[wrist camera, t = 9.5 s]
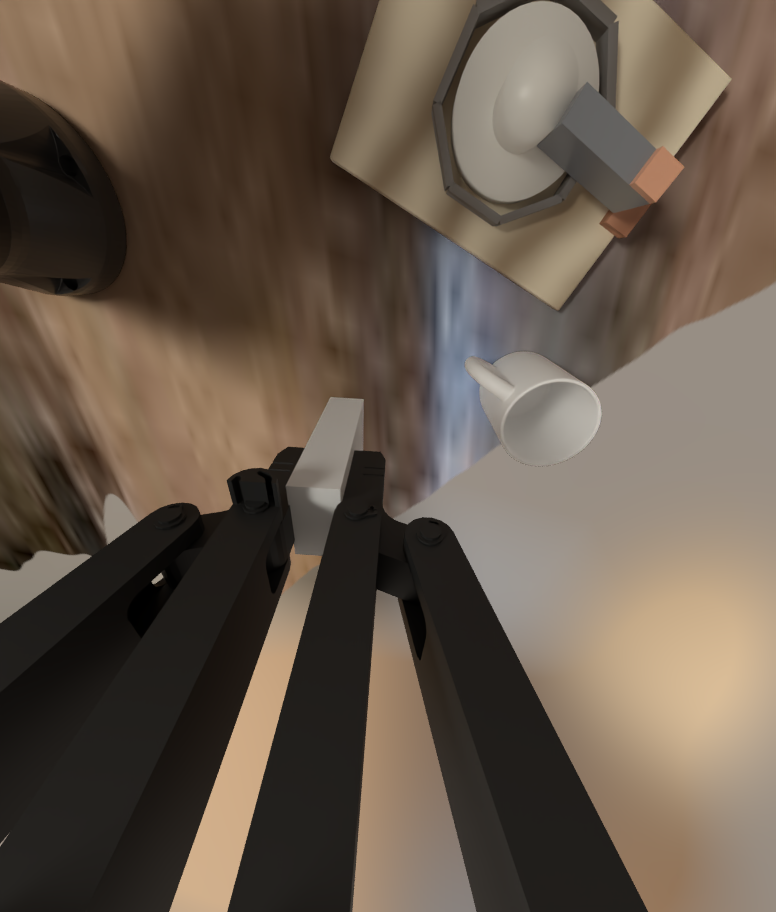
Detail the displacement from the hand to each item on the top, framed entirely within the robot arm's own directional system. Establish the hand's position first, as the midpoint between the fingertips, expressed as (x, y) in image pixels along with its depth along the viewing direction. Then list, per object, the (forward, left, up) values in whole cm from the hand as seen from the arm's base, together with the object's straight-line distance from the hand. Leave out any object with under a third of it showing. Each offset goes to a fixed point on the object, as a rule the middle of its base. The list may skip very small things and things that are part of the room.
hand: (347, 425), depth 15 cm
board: (+2, +19, -22) cm, 29 cm away
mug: (+14, +2, -22) cm, 26 cm away
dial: (+5, +19, -21) cm, 29 cm away
